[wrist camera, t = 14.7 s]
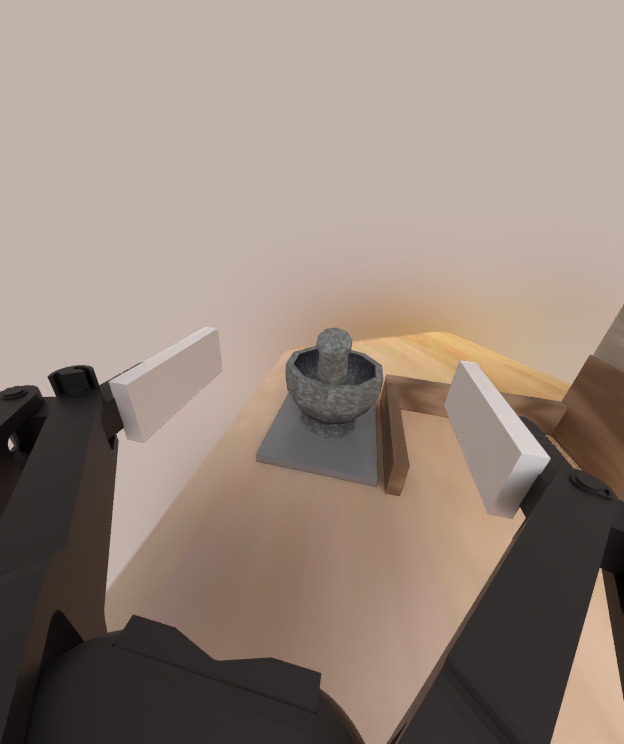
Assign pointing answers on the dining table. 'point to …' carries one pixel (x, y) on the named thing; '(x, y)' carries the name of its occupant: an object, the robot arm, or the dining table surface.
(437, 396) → the brown piece
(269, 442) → the slate pad
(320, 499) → the dining table surface
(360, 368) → the mortar and pestle
